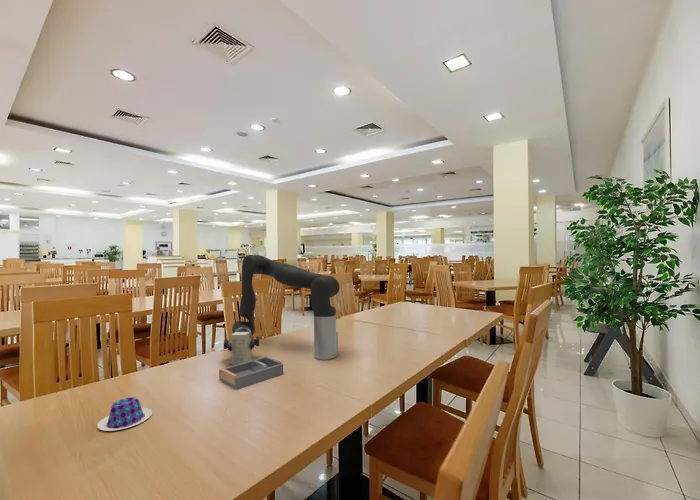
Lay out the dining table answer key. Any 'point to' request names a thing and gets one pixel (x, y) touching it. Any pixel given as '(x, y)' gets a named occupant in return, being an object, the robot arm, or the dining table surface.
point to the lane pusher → (257, 365)
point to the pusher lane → (250, 373)
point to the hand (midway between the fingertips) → (241, 347)
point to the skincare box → (240, 347)
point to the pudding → (124, 415)
